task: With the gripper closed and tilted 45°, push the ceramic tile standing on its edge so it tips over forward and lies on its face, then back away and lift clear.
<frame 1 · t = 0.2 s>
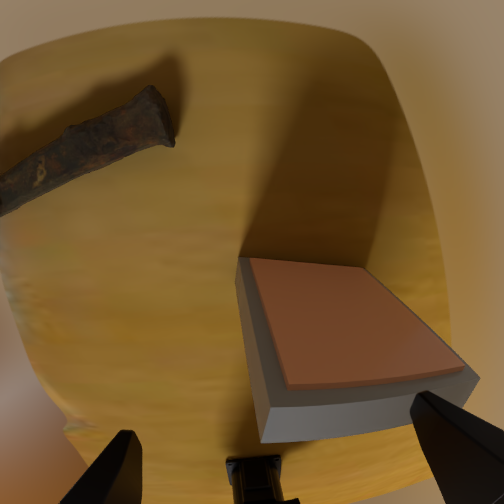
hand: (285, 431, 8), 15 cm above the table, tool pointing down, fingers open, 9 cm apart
tile: (303, 275, 23), on the table
dark brown rough rod: (59, 175, 19), on the table
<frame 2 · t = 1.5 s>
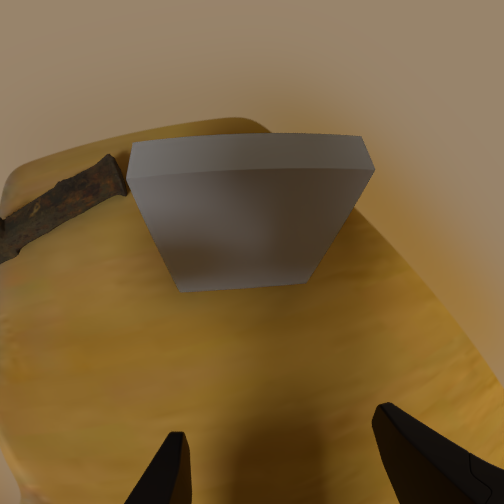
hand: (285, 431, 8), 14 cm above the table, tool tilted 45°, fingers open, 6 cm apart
tile: (242, 276, 24), on the table
dark brown rough rod: (48, 233, 25), on the table
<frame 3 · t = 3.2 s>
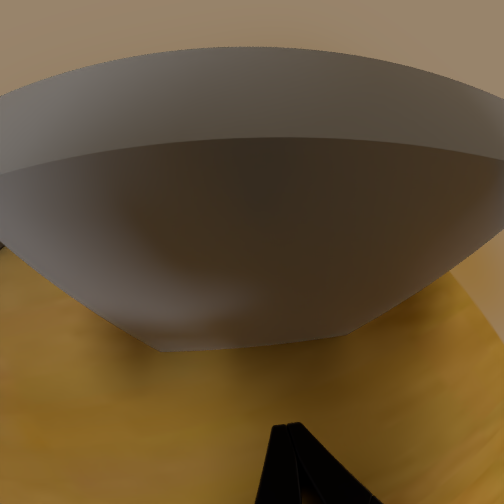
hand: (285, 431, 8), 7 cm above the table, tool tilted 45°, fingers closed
tile: (253, 327, 16), on the table
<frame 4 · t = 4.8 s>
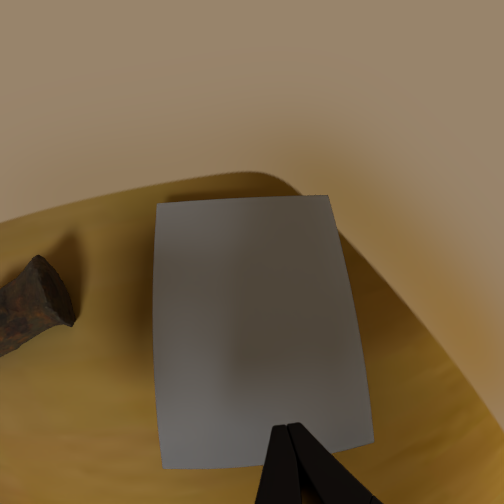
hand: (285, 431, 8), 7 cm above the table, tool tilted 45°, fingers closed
tile: (270, 459, 12), point 1 cm above the table, tilted 90°
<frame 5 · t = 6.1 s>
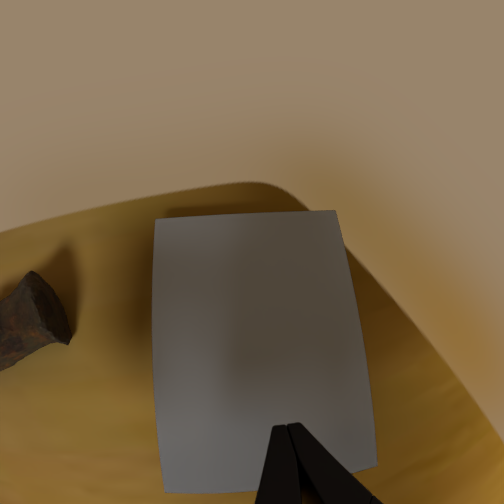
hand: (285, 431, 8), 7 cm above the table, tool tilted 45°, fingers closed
tile: (272, 482, 11), point 1 cm above the table, tilted 90°
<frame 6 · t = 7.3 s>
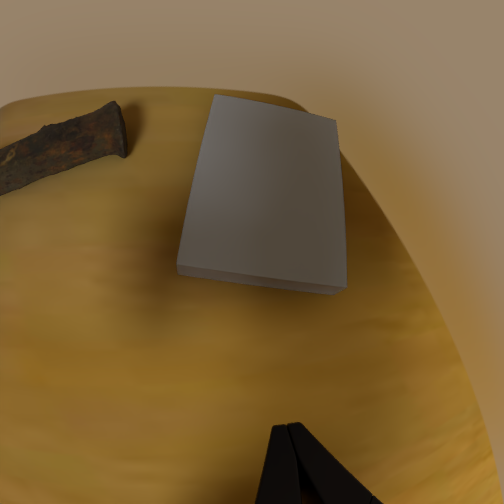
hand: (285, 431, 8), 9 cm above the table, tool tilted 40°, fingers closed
tile: (262, 281, 18), point 1 cm above the table, tilted 90°
dark brown rough rod: (22, 189, 18), on the table
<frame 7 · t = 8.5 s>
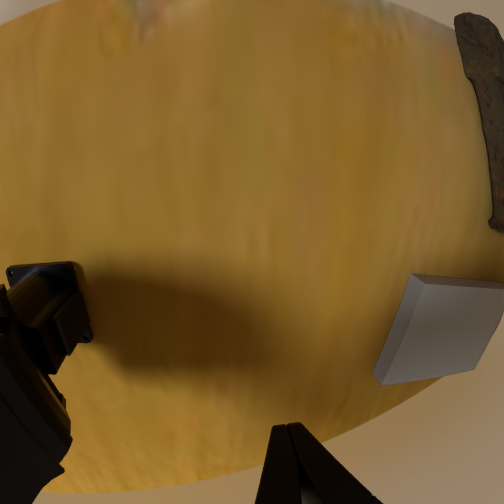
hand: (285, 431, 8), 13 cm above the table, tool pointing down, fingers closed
tile: (396, 333, 23), point 1 cm above the table, tilted 90°
dark brown rough rod: (478, 122, 19), on the table
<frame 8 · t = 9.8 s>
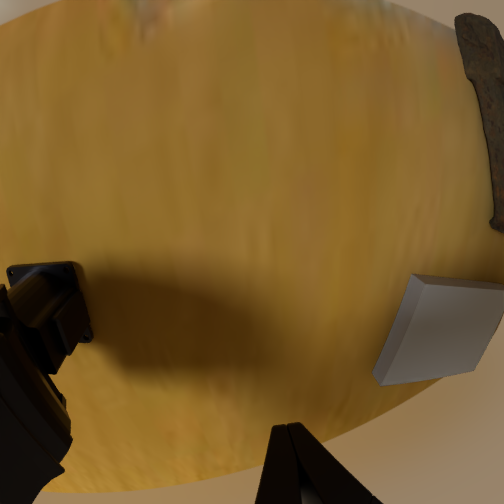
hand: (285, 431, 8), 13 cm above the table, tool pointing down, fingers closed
tile: (396, 333, 23), point 1 cm above the table, tilted 90°
dark brown rough rod: (479, 123, 19), on the table
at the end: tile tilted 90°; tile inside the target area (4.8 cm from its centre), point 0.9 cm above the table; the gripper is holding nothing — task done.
